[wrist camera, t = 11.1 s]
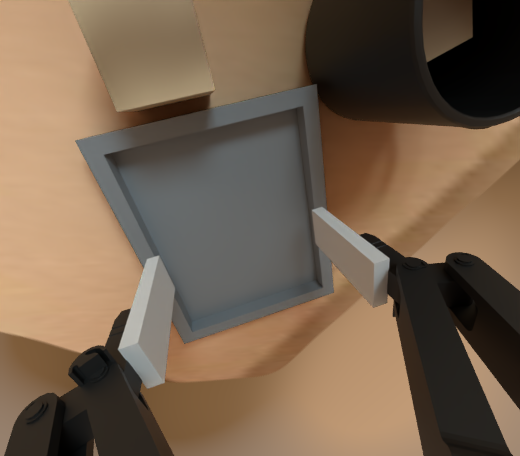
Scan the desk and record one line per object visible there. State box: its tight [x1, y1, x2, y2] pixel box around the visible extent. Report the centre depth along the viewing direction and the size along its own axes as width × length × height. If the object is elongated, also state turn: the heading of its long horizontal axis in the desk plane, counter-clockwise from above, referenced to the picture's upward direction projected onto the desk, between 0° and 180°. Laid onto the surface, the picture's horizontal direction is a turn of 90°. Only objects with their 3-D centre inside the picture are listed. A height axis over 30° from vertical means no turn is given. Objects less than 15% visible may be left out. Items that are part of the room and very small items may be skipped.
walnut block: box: [422, 0, 473, 62], centre depth 14 cm, size 4×4×4 cm
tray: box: [75, 84, 334, 344], centre depth 19 cm, size 17×14×2 cm
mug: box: [306, 0, 520, 129], centre depth 13 cm, size 9×12×9 cm
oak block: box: [68, 0, 215, 112], centre depth 12 cm, size 4×4×4 cm
